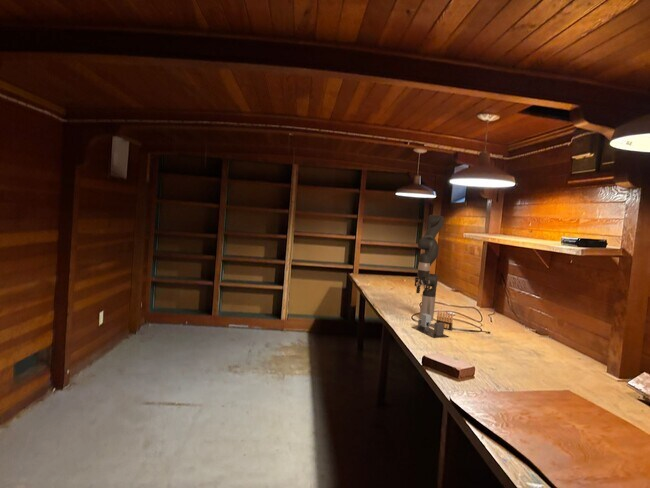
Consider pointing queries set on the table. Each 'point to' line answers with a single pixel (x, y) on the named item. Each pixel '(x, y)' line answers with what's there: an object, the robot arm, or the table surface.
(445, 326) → the ammunition clip
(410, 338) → the table surface
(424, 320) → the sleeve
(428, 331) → the dark grey mounting base
